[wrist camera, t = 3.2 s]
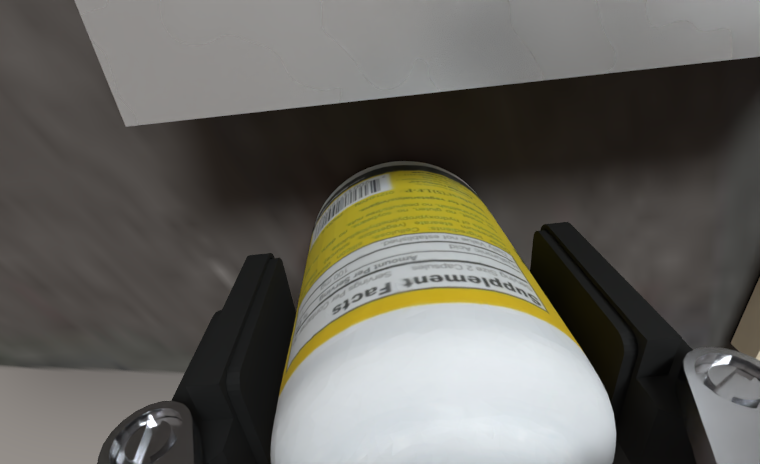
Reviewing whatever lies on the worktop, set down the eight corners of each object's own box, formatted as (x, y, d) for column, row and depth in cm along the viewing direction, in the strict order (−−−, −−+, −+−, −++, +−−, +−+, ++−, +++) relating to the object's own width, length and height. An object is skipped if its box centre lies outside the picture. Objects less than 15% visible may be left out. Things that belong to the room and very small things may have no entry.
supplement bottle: (462, 315, 14) (621, 799, 5) (306, 297, 13) (205, 813, 5) (513, 170, 11) (967, 645, 3) (323, 139, 11) (173, 631, 2)
